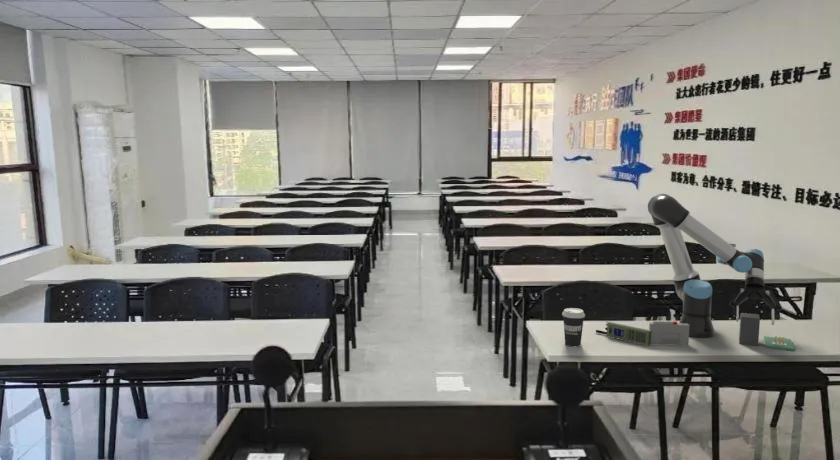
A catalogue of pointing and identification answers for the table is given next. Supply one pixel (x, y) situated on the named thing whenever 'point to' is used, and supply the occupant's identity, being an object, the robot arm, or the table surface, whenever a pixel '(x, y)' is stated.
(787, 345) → the header board
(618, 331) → the handheld radio
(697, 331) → the robot arm
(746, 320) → the block
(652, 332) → the cassette player
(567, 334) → the coffee cup
